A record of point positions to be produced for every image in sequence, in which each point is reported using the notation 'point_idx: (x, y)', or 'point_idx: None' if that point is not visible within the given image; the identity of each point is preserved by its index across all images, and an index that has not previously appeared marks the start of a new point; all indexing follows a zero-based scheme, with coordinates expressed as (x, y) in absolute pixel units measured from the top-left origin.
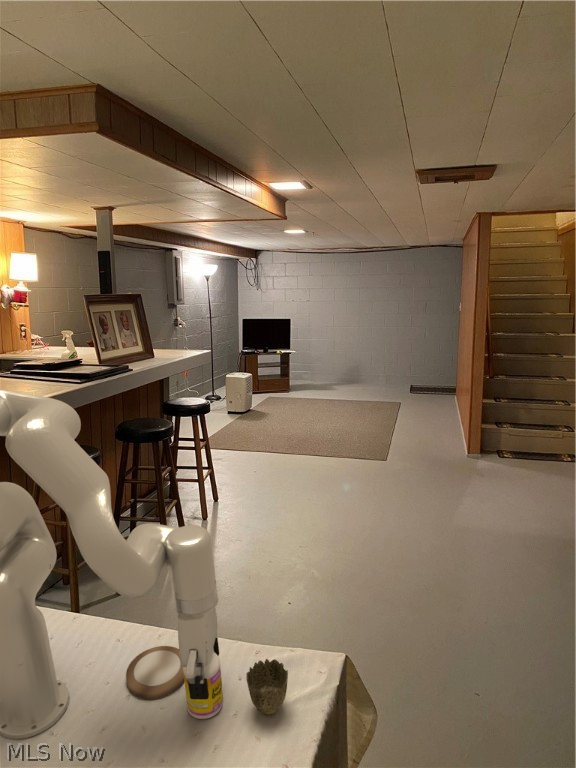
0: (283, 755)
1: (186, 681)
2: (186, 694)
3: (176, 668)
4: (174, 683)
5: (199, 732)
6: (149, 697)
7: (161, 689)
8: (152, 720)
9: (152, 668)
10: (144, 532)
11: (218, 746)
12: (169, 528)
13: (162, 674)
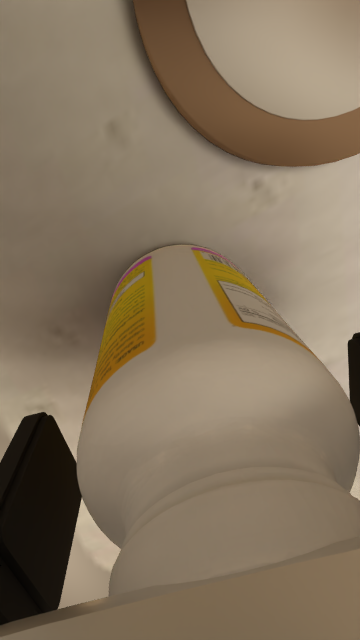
0: (98, 542)
1: (99, 371)
2: (120, 302)
3: (331, 97)
4: (234, 140)
5: (70, 340)
6: (137, 19)
7: (181, 81)
8: (35, 120)
9: None
10: None
11: (51, 412)
12: None
13: (279, 24)
